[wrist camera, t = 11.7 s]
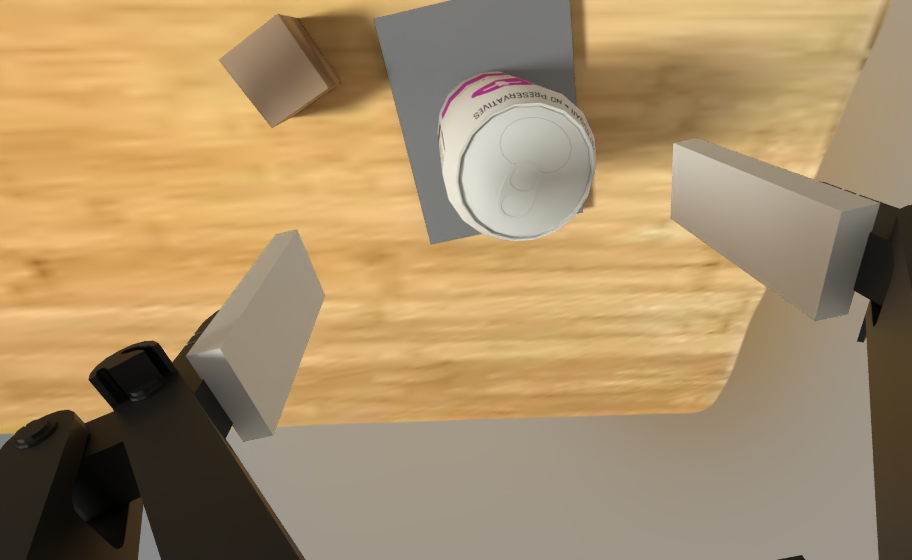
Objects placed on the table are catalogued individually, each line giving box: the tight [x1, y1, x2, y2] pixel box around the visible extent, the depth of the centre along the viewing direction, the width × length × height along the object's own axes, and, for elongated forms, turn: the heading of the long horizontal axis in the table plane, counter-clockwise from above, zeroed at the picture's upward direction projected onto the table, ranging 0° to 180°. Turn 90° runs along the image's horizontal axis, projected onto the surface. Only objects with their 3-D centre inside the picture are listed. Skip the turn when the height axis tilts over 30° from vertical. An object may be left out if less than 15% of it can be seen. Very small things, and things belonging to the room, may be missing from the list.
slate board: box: [374, 0, 583, 244], centre depth 35 cm, size 18×14×1 cm
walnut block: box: [219, 14, 341, 128], centre depth 31 cm, size 5×5×5 cm
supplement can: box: [438, 71, 596, 241], centre depth 28 cm, size 8×8×15 cm
